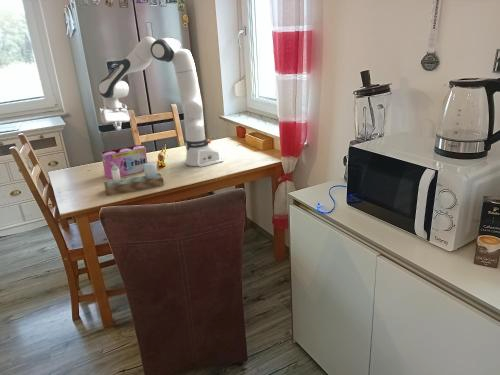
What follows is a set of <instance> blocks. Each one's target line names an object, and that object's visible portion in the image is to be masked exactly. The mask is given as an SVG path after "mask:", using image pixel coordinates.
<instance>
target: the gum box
mask: <svg viewBox="0 0 500 375" xmlns="http://www.w3.org/2000/svg"><path fill="white" fill-rule="evenodd" d="M100 154H101V160H102V167H103V171H104V176H105V177H106V178H107V179H108V180H110V179H113V177H112V171H111V168H112V167H113V166H117V167H118V168H119V172H120V177H125V176H127V175H132V174H133V175H134V174H137V173H142V172H144V165H143V164H144V163H147V162H148V158H147V149H146V146H144V145H143V144H137V145H131V146H130V145H129V146H125V147H121V148H116V149H115V148H114V149H110V150H106V151H101V152H100Z"/></svg>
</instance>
